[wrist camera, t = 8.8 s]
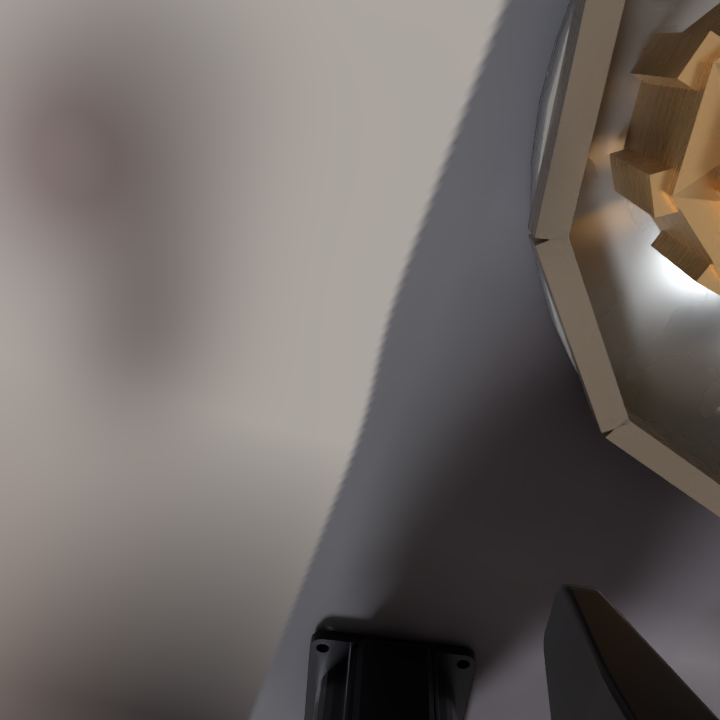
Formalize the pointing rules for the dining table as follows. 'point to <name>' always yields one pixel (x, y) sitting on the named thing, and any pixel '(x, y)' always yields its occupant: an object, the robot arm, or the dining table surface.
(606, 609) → the robot arm
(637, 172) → the planet gear
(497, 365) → the dining table surface
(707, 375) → the carrier
